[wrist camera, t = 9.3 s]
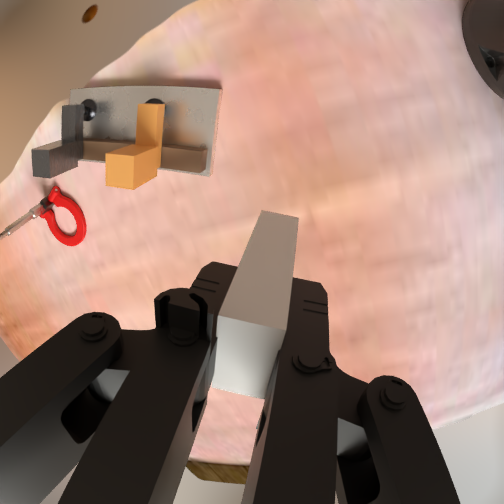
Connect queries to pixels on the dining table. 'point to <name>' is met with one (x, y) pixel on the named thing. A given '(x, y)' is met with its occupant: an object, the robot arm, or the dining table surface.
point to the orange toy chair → (138, 151)
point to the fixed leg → (62, 145)
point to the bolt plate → (174, 125)
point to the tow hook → (53, 218)
